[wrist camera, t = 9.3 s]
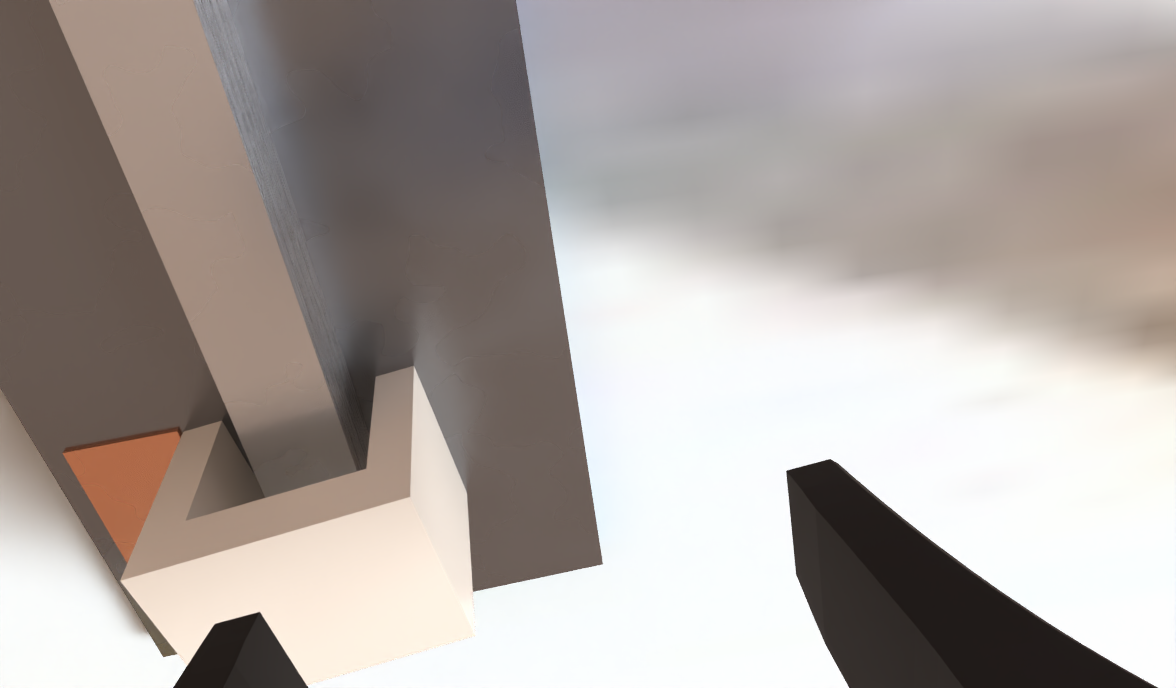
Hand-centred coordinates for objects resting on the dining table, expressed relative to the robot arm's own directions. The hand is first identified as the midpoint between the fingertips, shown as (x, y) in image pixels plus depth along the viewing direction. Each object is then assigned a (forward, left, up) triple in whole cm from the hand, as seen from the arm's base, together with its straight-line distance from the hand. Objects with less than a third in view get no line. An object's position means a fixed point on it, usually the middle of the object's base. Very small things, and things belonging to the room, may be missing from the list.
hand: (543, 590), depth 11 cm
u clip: (+5, +3, -8) cm, 10 cm away
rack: (+5, 0, -9) cm, 10 cm away
